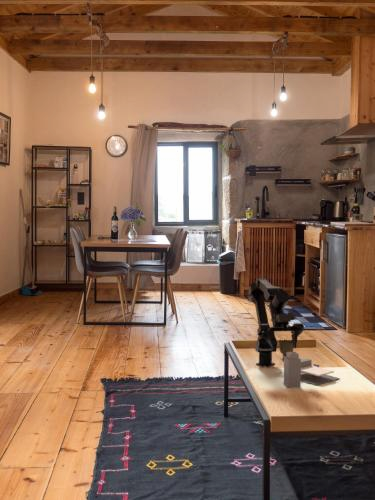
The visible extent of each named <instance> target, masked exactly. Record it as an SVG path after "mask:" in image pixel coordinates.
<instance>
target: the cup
mask: <svg viewBox="0 0 375 500" xmlns="http://www.w3.org/2000/svg"><path fill="white" fill-rule="evenodd" d="M278 346H279V351H280V353H281V354H282V357H283V358H284V357H286V352H294V349H295V348H294V346H293V341H292V339H279V340H278Z"/></svg>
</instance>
